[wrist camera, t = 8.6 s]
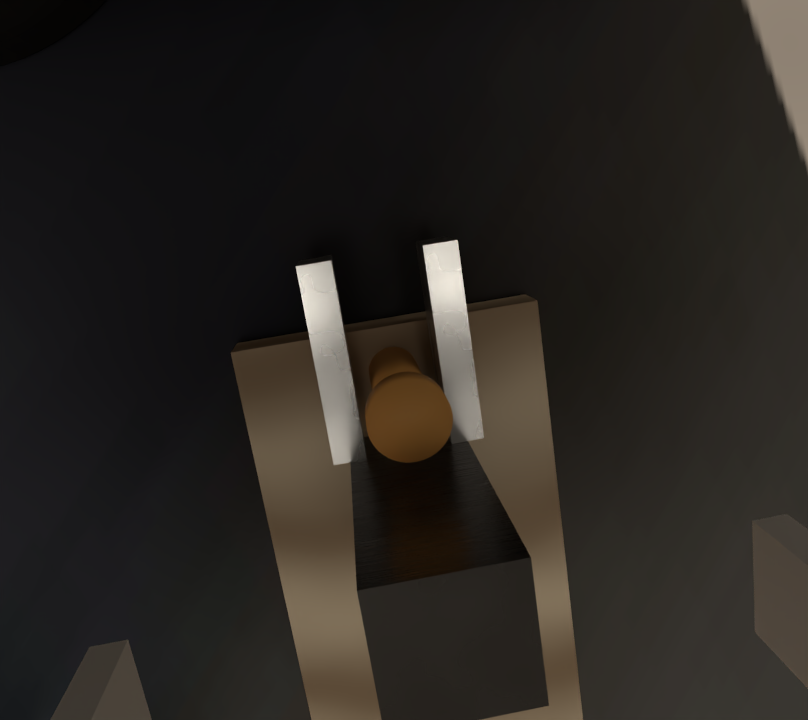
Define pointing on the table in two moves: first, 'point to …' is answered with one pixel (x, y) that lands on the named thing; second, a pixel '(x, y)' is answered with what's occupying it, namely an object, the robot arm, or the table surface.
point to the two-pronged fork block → (430, 526)
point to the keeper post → (405, 408)
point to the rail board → (332, 492)
